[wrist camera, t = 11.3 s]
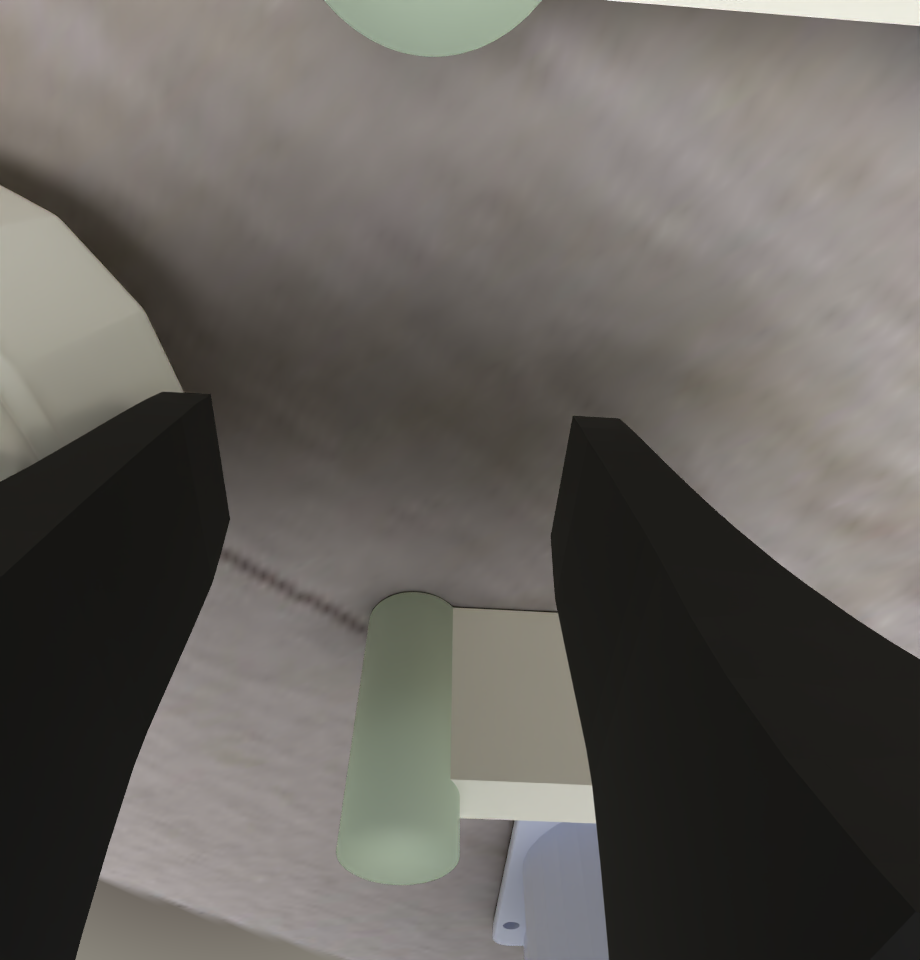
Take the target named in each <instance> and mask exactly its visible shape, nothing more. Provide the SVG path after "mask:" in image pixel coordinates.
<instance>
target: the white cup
mask: <svg viewBox="0 0 920 960" xmlns="http://www.w3.org/2000/svg"><path fill="white" fill-rule="evenodd" d="M161 392H179V393H184V391H183V389H182V387H181V385H180V383H179V381H178V379H177V376H176V374H175V372H174V370H173V368H172V366H171V364H170V362H169V360H168V357H167V355H166V353H165V351H164V349H163V347H162V345H161V343H160V341H159V339H158V337H157V335H156V333H155V331H154V329H153V326H152V324H151V322H150V320H149V318H148V316H147V314H146V313H145V311H144V309H143V308H142V307H141V306H140V304H139V303H138V302H137V301H136V300H135V299H134V298H133V297H132V296H131V295H130V293H129V292H128V291H127V290H126V289H125V288H124V287H123V286H122V285H121V284H120V283H119V282H118V280H117V279H116V278H115V277H114V276H113V275H112V274H111V273H110V272H109V271H108V270H107V269H106V267H105V266H104V265H103V264H102V263H101V262H100V261H99V260H98V259H97V258H96V257H95V256H94V255H93V253H92V252H91V251H90V250H89V249H88V248H87V247H86V246H85V245H84V244H83V243H82V242H81V240H80V239H79V238H78V237H77V236H76V235H75V234H74V233H73V232H72V231H71V230H70V229H69V227H68V226H67V225H66V224H65V223H64V222H63V221H62V220H61V219H60V218H59V217H58V216H56V215H55V214H53V213H51V212H49V211H48V210H46V209H44V208H42V207H40V206H38V205H37V204H35V203H33V202H31V201H29V200H27V199H25V198H24V197H22V196H20V195H18V194H16V193H14V192H13V191H11V190H9V189H7V188H5V187H3V186H1V185H0V482H1V481H2V480H4V479H6V478H8V477H10V476H12V475H14V474H16V473H18V472H19V471H21V470H23V469H25V468H27V467H29V466H31V465H32V464H34V463H36V462H38V461H40V460H41V459H43V458H45V457H46V456H48V455H50V454H52V453H53V452H55V451H57V450H59V449H60V448H62V447H64V446H65V445H67V444H69V443H71V442H72V441H74V440H76V439H77V438H79V437H81V436H83V435H84V434H86V433H88V432H90V431H91V430H93V429H95V428H96V427H98V426H100V425H101V424H103V423H105V422H107V421H108V420H110V419H112V418H113V417H115V416H117V415H119V414H120V413H122V412H124V411H126V410H127V409H129V408H131V407H133V406H134V405H136V404H138V403H140V402H142V401H144V400H146V399H148V398H150V397H152V396H154V395H156V394H158V393H161Z"/></svg>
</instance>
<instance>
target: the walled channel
mask: <svg viewBox="0 0 920 960" xmlns="http://www.w3.org/2000/svg"><path fill="white" fill-rule="evenodd" d="M324 1H325V2H326V3H327V4H328V5H329V6H330V7H331V9H332V10H333V11H334V12H335V13H336V14H337V15H338V16H339V17H340V18H342V19H343V20H344V21H345V22H346V23H347V24H349V25H350V26H351V27H352V28H353V29H355V30H356V31H358V32H359V33H361V34H362V35H364V36H365V37H367V38H368V39H370V40H372V41H374V42H376V43H378V44H380V45H382V46H385V47H387V48H389V49H392V50H396V51H399V52H402V53H405V54H411V55H417V56H424V57H444V56H450V55H457V54H462V53H466V52H469V51H472V50H475V49H479V48H481V47H483V46H485V45H487V44H489V43H491V42H493V41H495V40H497V39H499V38H500V37H502V36H503V35H505V34H506V33H508V32H509V31H511V30H512V29H513V28H515V27H516V26H517V25H518V24H519V23H520V22H522V21H523V20H524V19H525V18H526V17H527V16H528V15H529V14H530V13H531V12H532V11H533V10H534V9H535V7H536V6H537V5H538V4H539V3H540V2H541V1H542V0H324ZM609 1H621V2H633V3H645V4H658V5H670V6H682V7H694V8H706V9H719V10H731V11H743V12H755V13H768V14H780V15H792V16H804V17H817V18H829V19H841V20H853V21H865V22H878V23H890V24H902V25H914V26H920V0H609ZM460 818H470V819H495V820H520V821H545V822H570V823H595V824H596V818H595V808H594V799H593V789H592V781H591V775H590V769H589V763H588V757H587V751H586V746H585V741H584V736H583V731H582V727H581V722H580V717H579V712H578V707H577V703H576V698H575V693H574V688H573V683H572V679H571V674H570V669H569V664H568V660H567V655H566V650H565V645H564V640H563V635H562V630H561V625H560V621H559V616H558V613H551V612H531V611H511V610H492V609H472V608H453V607H452V606H451V605H450V604H449V603H447V602H446V601H444V600H443V599H441V598H439V597H436V596H434V595H430V594H426V593H419V592H407V593H400V594H396V595H393V596H390V597H388V598H386V599H384V600H383V601H381V602H380V603H379V604H378V605H377V606H376V607H375V608H374V609H373V611H372V613H371V615H370V619H369V626H368V633H367V640H366V647H365V654H364V661H363V668H362V674H361V681H360V688H359V695H358V702H357V709H356V716H355V723H354V730H353V737H352V744H351V751H350V757H349V764H348V771H347V778H346V785H345V792H344V799H343V806H342V813H341V820H340V827H339V834H338V840H337V847H336V855H337V858H338V861H339V862H340V864H341V865H342V866H343V867H344V868H345V869H346V870H348V871H349V872H351V873H352V874H354V875H356V876H358V877H360V878H363V879H366V880H369V881H372V882H377V883H382V884H389V885H413V884H421V883H426V882H430V881H433V880H436V879H438V878H441V877H443V876H445V875H446V874H448V873H449V872H451V871H452V870H453V869H454V868H455V867H456V865H457V863H458V861H459V858H460Z"/></svg>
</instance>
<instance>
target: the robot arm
mask: <svg viewBox="0 0 920 960" xmlns="http://www.w3.org/2000/svg"><path fill="white" fill-rule="evenodd" d="M229 521H230V516H229V510H228V503H227V497H226V491H225V484H224V478H223V471H222V465H221V459H220V452H219V446H218V439H217V433H216V426H215V420H214V414H213V407H212V401H211V394H196V393H179V392H161V393H158V394H156V395H154V396H152V397H150V398H148V399H146V400H144V401H142V402H140V403H138V404H136V405H134V406H133V407H131V408H129V409H127V410H126V411H124V412H122V413H120V414H119V415H117V416H115V417H113V418H112V419H110V420H108V421H107V422H105V423H103V424H101V425H100V426H98V427H96V428H95V429H93V430H91V431H90V432H88V433H86V434H84V435H83V436H81V437H79V438H77V439H76V440H74V441H72V442H71V443H69V444H67V445H65V446H64V447H62V448H60V449H59V450H57V451H55V452H53V453H52V454H50V455H48V456H46V457H45V458H43V459H41V460H40V461H38V462H36V463H34V464H32V465H31V466H29V467H27V468H25V469H23V470H21V471H19V472H18V473H16V474H14V475H12V476H10V477H8V478H6V479H4V480H2V481H1V482H0V960H75V959H76V955H77V951H78V947H79V944H80V940H81V936H82V933H83V929H84V926H85V923H86V919H87V916H88V913H89V909H90V906H91V902H92V899H93V896H94V892H95V889H96V886H97V882H98V879H99V876H100V872H101V869H102V865H103V862H104V859H105V855H106V852H107V849H108V845H109V842H110V839H111V836H112V833H113V830H114V827H115V823H116V820H117V817H118V814H119V811H120V808H121V805H122V802H123V798H124V795H125V792H126V789H127V786H128V783H129V780H130V777H131V774H132V770H133V767H134V765H135V762H136V759H137V757H138V754H139V752H140V749H141V747H142V744H143V741H144V739H145V736H146V734H147V731H148V729H149V727H150V724H151V722H152V720H153V717H154V715H155V713H156V711H157V708H158V706H159V704H160V702H161V699H162V697H163V695H164V693H165V690H166V688H167V686H168V684H169V681H170V679H171V677H172V675H173V672H174V670H175V668H176V665H177V663H178V661H179V659H180V656H181V654H182V652H183V650H184V647H185V645H186V643H187V641H188V638H189V636H190V634H191V632H192V629H193V627H194V625H195V622H196V620H197V618H198V615H199V613H200V611H201V608H202V606H203V604H204V601H205V599H206V597H207V594H208V592H209V590H210V587H211V585H212V582H213V579H214V575H215V572H216V569H217V565H218V562H219V558H220V555H221V551H222V547H223V544H224V540H225V536H226V532H227V528H228V524H229ZM551 547H552V562H553V576H554V588H555V600H556V605H557V610H558V616H559V621H560V625H561V630H562V635H563V640H564V645H565V650H566V655H567V660H568V664H569V669H570V674H571V679H572V683H573V688H574V693H575V698H576V703H577V707H578V712H579V717H580V722H581V727H582V731H583V736H584V741H585V746H586V751H587V757H588V763H589V769H590V775H591V781H592V789H593V799H594V808H595V818H596V824H595V823H570V822H545V821H520V820H515V821H514V826H513V831H512V836H511V840H510V845H509V850H508V855H507V860H506V864H505V869H504V874H503V879H502V884H501V888H500V893H499V898H498V903H497V908H496V913H495V917H494V922H493V927H492V930H493V940H494V941H495V942H496V943H498V944H500V945H507V946H524V960H920V659H918V658H917V657H915V656H913V655H912V654H910V653H909V652H907V651H905V650H904V649H902V648H900V647H899V646H897V645H895V644H894V643H892V642H890V641H889V640H887V639H886V638H884V637H883V636H881V635H879V634H878V633H876V632H875V631H873V630H872V629H870V628H869V627H867V626H866V625H864V624H862V623H861V622H859V621H858V620H856V619H855V618H853V617H852V616H851V615H849V614H848V613H846V612H845V611H844V610H842V609H841V608H839V607H838V606H836V605H835V604H834V603H832V602H831V601H829V600H828V599H827V598H825V597H824V596H822V595H821V594H819V593H818V592H817V591H815V590H814V589H812V588H811V587H809V586H808V585H807V584H805V583H804V582H802V581H801V580H800V579H798V578H797V577H796V576H794V575H793V574H792V573H791V572H789V571H788V570H787V569H785V568H784V567H783V566H781V565H780V564H779V563H777V562H776V561H775V560H774V559H773V558H771V557H770V556H769V555H768V554H766V553H765V552H764V551H763V550H762V549H760V548H759V547H758V546H757V545H756V544H754V543H753V542H752V541H751V540H749V539H748V538H747V537H746V536H745V535H743V534H742V533H741V532H740V531H739V530H737V529H736V528H735V527H734V526H733V525H732V524H730V523H729V522H728V521H727V520H726V519H725V518H724V517H723V516H721V515H720V514H719V513H718V512H717V511H716V510H715V509H714V508H712V507H711V506H710V505H709V504H708V503H707V502H706V501H705V500H704V499H703V498H702V497H700V496H699V495H698V494H697V493H696V492H695V491H694V490H693V489H692V488H691V487H690V486H689V485H688V484H687V483H686V482H685V481H684V480H682V479H681V478H680V477H679V476H678V475H677V474H676V473H675V472H674V471H673V470H672V469H671V468H670V467H669V466H668V465H667V464H666V463H665V462H664V461H663V460H662V459H661V458H660V457H659V456H658V455H657V454H656V453H655V452H654V451H653V450H652V449H651V448H650V447H649V446H648V445H647V444H646V443H645V442H644V441H643V440H642V439H641V438H640V437H639V436H638V435H637V434H636V433H635V432H633V431H632V430H631V429H630V428H629V427H628V426H627V425H626V424H625V423H624V422H623V421H621V420H620V419H616V418H600V417H583V416H573V418H572V424H571V429H570V435H569V440H568V445H567V451H566V456H565V462H564V467H563V473H562V478H561V483H560V489H559V494H558V500H557V505H556V511H555V516H554V521H553V527H552V532H551Z"/></svg>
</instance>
